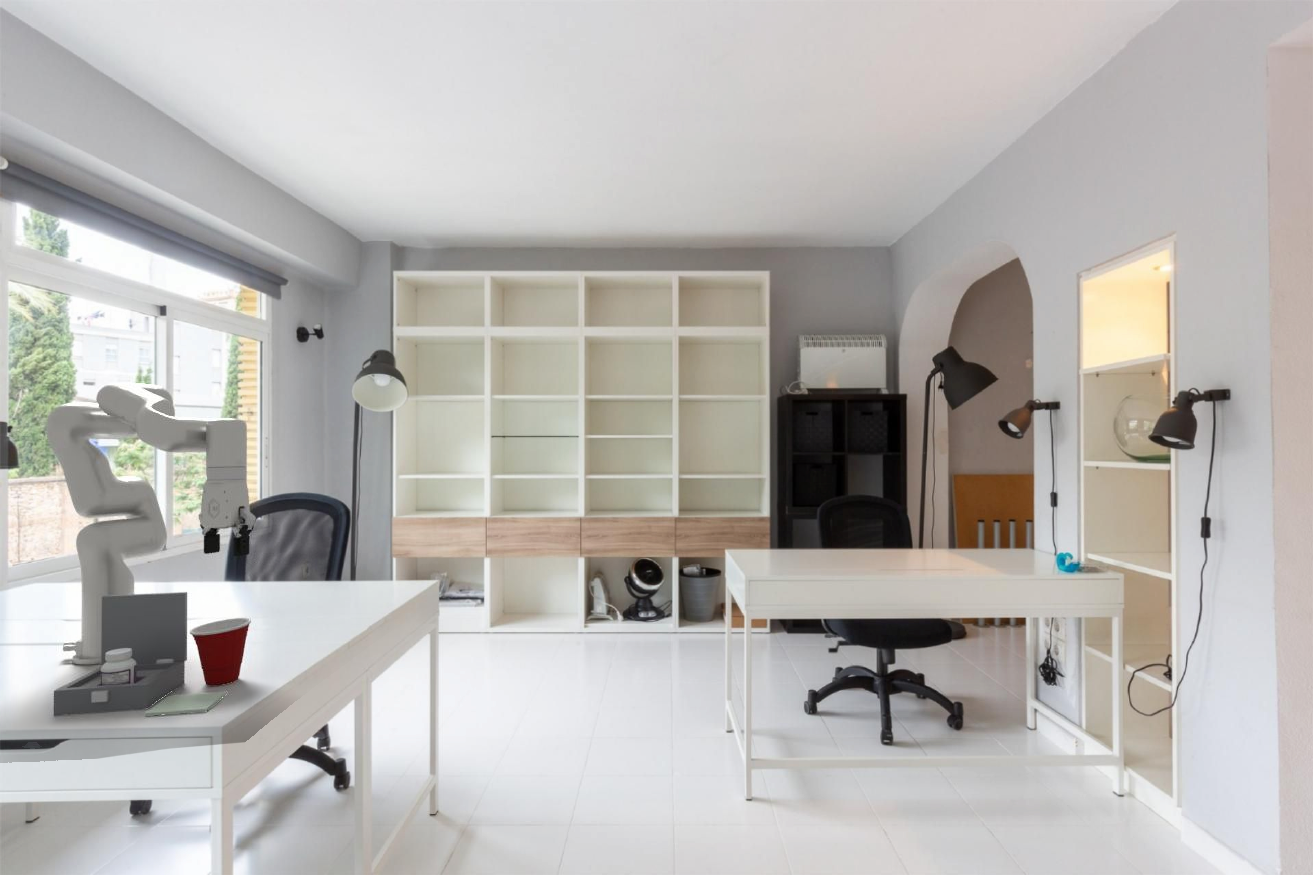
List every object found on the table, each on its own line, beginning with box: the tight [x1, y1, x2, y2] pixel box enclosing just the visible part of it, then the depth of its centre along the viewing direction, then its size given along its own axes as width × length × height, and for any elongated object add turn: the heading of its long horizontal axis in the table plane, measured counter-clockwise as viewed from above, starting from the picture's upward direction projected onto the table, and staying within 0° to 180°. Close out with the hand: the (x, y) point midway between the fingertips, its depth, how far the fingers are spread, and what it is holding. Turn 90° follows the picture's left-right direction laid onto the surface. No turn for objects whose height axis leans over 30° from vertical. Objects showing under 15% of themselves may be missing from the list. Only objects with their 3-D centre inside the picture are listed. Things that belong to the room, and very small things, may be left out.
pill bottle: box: [100, 648, 137, 686], centre depth 129 cm, size 5×5×10 cm
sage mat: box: [143, 691, 228, 718], centre depth 126 cm, size 10×9×1 cm
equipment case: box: [53, 591, 188, 717], centre depth 130 cm, size 15×16×18 cm
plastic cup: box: [189, 617, 252, 687], centre depth 139 cm, size 11×11×12 cm
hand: (226, 554), depth 147 cm, fingers open, 9 cm apart
